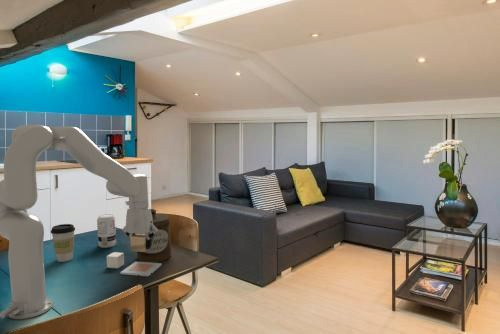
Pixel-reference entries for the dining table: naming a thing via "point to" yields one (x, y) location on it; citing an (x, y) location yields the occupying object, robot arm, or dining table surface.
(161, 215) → the wooden container
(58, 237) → the coffee cup
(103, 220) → the supplement can
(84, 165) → the robot arm
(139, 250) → the oak block
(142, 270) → the white orange square board
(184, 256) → the dining table surface
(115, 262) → the cream block
